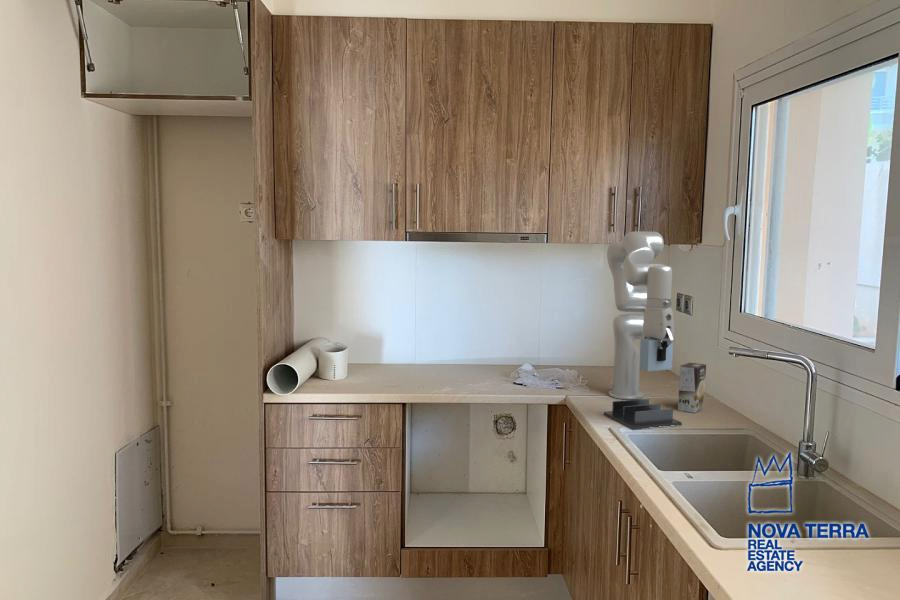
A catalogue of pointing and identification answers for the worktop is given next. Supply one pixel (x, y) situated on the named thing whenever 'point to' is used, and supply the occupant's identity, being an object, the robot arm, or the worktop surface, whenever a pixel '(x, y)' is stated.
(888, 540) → the worktop surface
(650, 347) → the blue-grey square block
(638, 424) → the dish rack
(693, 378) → the coffee box
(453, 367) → the worktop surface
